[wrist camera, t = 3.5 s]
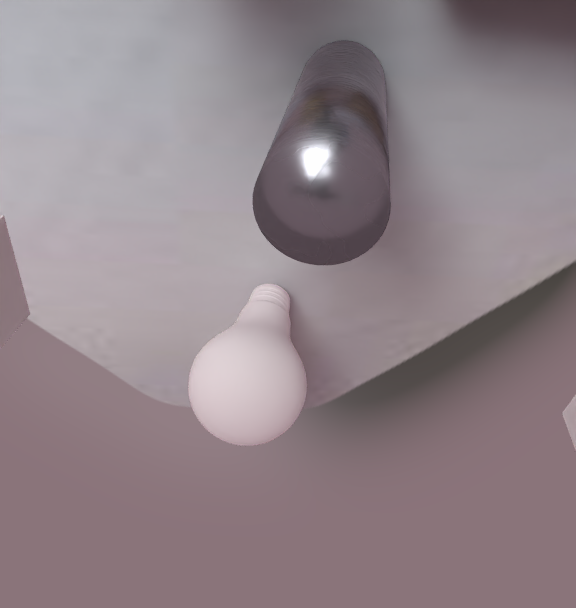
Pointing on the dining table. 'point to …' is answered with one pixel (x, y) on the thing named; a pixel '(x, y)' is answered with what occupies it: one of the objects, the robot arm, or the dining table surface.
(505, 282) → the dining table surface
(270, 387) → the lightbulb
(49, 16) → the dining table surface
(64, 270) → the dining table surface
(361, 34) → the dining table surface
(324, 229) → the cylinder
